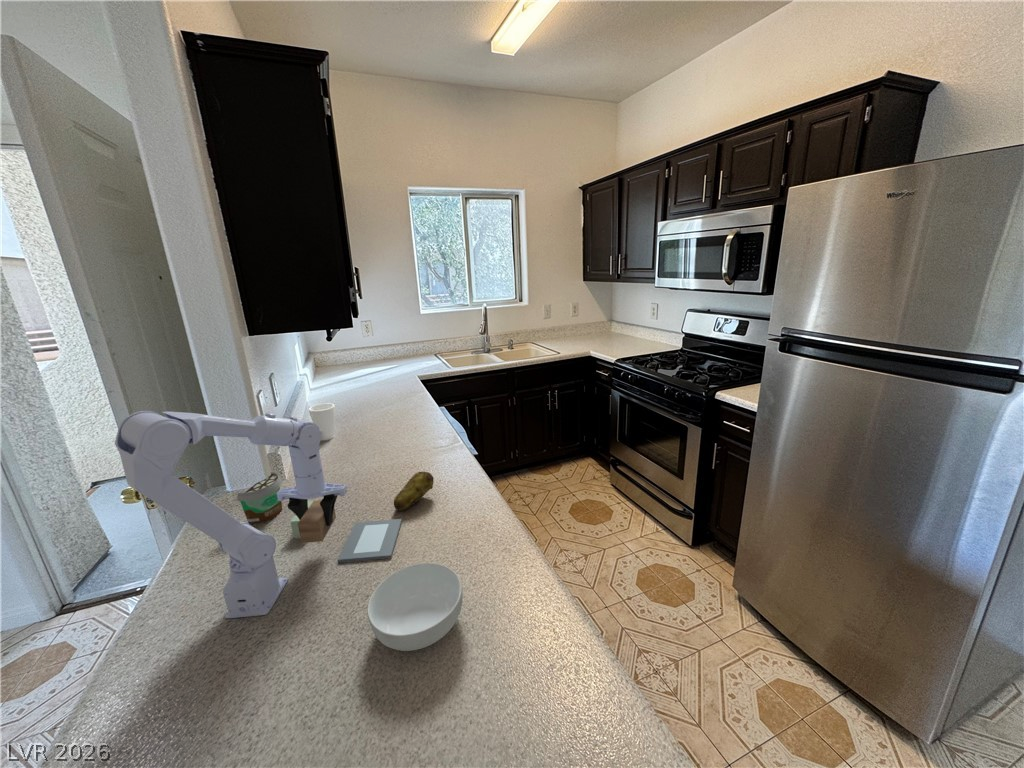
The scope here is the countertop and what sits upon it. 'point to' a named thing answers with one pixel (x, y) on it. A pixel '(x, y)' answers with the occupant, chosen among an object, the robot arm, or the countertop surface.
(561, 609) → the countertop surface
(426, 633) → the cereal bowl
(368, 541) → the board
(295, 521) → the green brick
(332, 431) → the foam cup
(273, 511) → the food container
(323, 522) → the walnut brick
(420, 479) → the potato
